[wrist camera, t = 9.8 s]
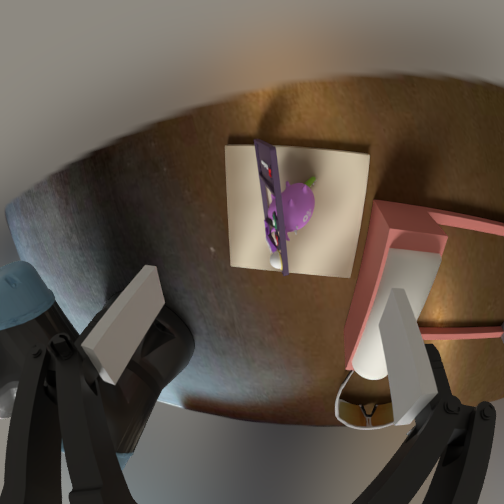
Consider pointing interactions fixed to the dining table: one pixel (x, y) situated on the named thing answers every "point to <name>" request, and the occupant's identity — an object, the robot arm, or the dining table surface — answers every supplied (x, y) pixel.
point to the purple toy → (281, 204)
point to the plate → (322, 220)
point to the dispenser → (402, 277)
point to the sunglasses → (362, 413)
